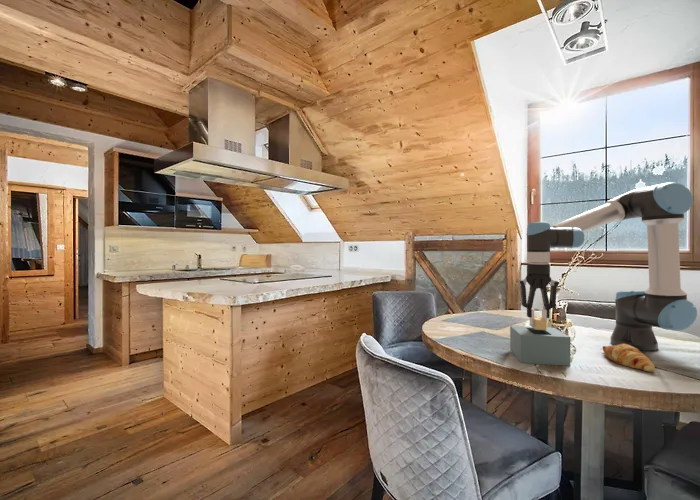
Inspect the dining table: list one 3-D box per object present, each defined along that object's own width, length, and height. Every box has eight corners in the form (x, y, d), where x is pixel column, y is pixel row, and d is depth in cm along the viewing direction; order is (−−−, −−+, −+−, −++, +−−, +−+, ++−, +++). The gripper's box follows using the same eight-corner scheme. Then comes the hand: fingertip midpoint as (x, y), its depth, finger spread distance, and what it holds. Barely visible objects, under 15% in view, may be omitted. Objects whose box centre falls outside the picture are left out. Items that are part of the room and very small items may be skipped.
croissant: (662, 385, 109) (674, 363, 109) (636, 371, 108) (647, 349, 108) (610, 361, 130) (619, 343, 130) (587, 349, 130) (597, 331, 129)
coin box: (554, 353, 130) (554, 327, 130) (570, 365, 117) (570, 337, 116) (510, 350, 133) (510, 325, 133) (520, 362, 120) (520, 334, 120)
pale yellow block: (546, 330, 121) (546, 320, 121) (535, 329, 122) (535, 320, 122) (540, 325, 128) (540, 316, 128) (530, 325, 129) (530, 316, 129)
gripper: (558, 263, 127) (558, 325, 127) (511, 262, 130) (511, 323, 130) (567, 264, 119) (566, 329, 120) (517, 263, 123) (516, 327, 123)
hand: (537, 326), depth 125 cm, fingers closed on pale yellow block, 3 cm apart
